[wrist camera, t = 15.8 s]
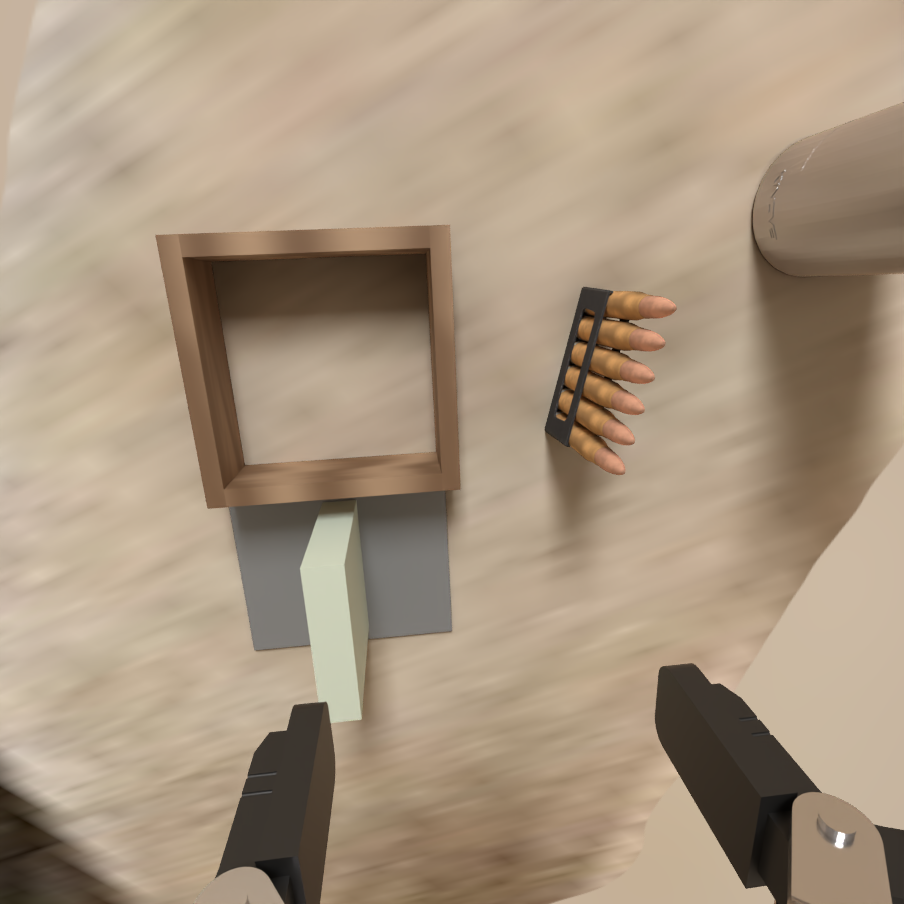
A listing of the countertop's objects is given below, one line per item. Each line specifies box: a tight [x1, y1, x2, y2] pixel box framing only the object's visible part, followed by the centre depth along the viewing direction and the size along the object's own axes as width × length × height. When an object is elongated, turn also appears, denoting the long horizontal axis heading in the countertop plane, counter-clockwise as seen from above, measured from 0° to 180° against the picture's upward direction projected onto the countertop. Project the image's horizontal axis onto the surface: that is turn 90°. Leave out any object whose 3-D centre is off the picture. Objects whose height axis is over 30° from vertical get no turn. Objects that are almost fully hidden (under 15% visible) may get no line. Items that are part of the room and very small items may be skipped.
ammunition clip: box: [545, 287, 677, 475], centre depth 34 cm, size 11×2×12 cm, turn 168°
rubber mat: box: [229, 491, 452, 650], centre depth 42 cm, size 16×13×1 cm
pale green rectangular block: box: [300, 500, 369, 723], centre depth 37 cm, size 2×11×10 cm, turn 2°
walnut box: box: [156, 225, 460, 509], centre depth 35 cm, size 16×16×5 cm
